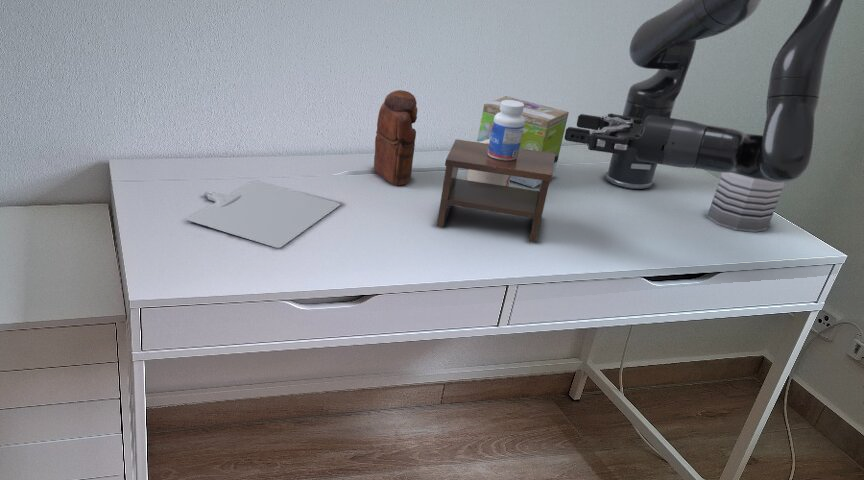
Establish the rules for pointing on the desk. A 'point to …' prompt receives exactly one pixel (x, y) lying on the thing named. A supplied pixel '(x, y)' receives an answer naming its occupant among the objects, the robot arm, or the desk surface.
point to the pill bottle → (507, 131)
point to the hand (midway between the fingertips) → (571, 126)
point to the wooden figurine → (396, 137)
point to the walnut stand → (491, 194)
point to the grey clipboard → (263, 213)
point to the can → (744, 202)
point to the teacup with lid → (488, 175)
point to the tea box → (530, 130)
